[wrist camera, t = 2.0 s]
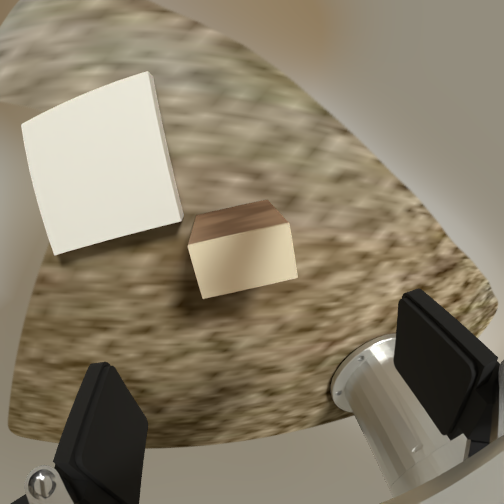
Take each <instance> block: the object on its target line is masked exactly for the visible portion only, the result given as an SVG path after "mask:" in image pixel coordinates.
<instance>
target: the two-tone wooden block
mask: <svg viewBox="0 0 504 504" xmlns="http://www.w3.org/2000/svg"><path fill="white" fill-rule="evenodd" d="M188 250H189V253H190V257H191V260H192V264H193V267H194V271H195V274H196V278H197V281H198V285H199V288H200V291H201V295H202V298H203V299H205V298H210V297H214V296H219V295H224V294H228V293H233V292H237V291H242V290H246V289H251V288H255V287H260V286H264V285H268V284H273V283H277V282H281V281H285V280H290V279H294V278H298V276H297V269H296V262H295V256H294V249H293V243H292V236H291V230H290V224H289V223H288V222H287V220H286V219H285V218H284V217H283V216H282V215H281V214H280V213H279V212H278V211H277V209H276V208H275V207H274V206H273V205H272V204H271V203H270V202H269V201H268V200H263V201H259V202H254V203H249V204H244V205H240V206H235V207H231V208H226V209H222V210H217V211H213V212H209V213H204V214H200V215H196V218H195V222H194V225H193V229H192V232H191V236H190V239H189V243H188Z"/></svg>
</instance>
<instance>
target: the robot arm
mask: <svg viewBox="0 0 504 504" xmlns="http://www.w3.org/2000/svg"><path fill="white" fill-rule="evenodd" d="M497 359H498V357H497V356H496V355H495V354H494V353H493V352H492V351H490V349H488V348H487V347H486V346H485V345H484V344H483V343H482V342H481V341H480V340H479V339H478V338H477V337H476V336H474V335H473V334H472V333H471V332H470V331H469V330H468V329H467V328H466V327H464V326H463V325H462V324H461V323H460V322H459V321H458V320H457V319H455V318H454V317H453V316H452V315H451V314H450V313H449V312H447V311H446V310H445V309H444V308H443V307H442V306H440V305H439V304H438V303H437V302H436V301H434V300H433V299H432V298H431V297H430V296H429V295H427V294H426V293H425V292H424V291H422V290H421V289H415V290H413V291H410V292H407V293H404V294H403V296H402V299H400V300H399V304H398V318H397V330H396V334H389V335H384V336H381V337H378V338H375V339H373V340H371V341H369V342H367V343H365V344H364V345H362V346H361V347H359V348H357V349H356V350H355V351H354V352H353V353H351V354H350V355H349V356H348V357H347V358H346V359H345V360H344V361H343V362H342V364H341V365H340V366H339V368H338V369H337V370H336V372H335V374H334V376H333V378H332V382H331V390H330V392H331V396H332V398H333V400H334V402H335V404H336V405H337V406H338V407H339V408H340V409H342V410H344V411H347V412H353V413H354V415H355V417H356V419H357V421H358V423H359V425H360V427H361V430H362V432H363V434H364V436H365V438H366V440H367V442H368V444H369V446H370V449H371V451H372V453H373V455H374V457H375V459H376V461H377V463H378V466H379V468H380V470H381V472H382V474H383V476H384V478H385V480H386V483H387V485H388V487H389V489H390V491H391V493H392V495H393V498H392V499H390V500H388V501H385V502H383V503H380V504H504V360H503V361H502V362H501V364H499V362H497ZM147 430H148V422H147V419H146V417H145V415H144V414H143V412H142V411H141V409H140V408H139V406H138V404H137V403H136V401H135V400H134V398H133V397H132V395H131V394H130V392H129V390H128V389H127V387H126V385H125V384H124V382H123V380H122V379H121V377H120V375H119V374H118V372H117V370H116V369H115V367H114V366H110V364H109V363H107V362H101V363H93V364H90V366H89V368H88V370H87V372H86V374H85V377H84V379H83V382H82V384H81V386H80V389H79V391H78V394H77V396H76V399H75V401H74V404H73V406H72V409H71V412H70V414H69V417H68V419H67V422H66V425H65V428H64V430H63V433H62V436H61V439H60V442H59V445H58V448H57V451H56V454H55V457H54V460H53V462H54V463H55V468H53V467H51V466H47V465H43V466H39V467H36V468H35V469H33V470H32V471H31V472H30V473H29V474H28V476H27V478H26V481H25V493H26V494H25V495H24V496H22V497H20V498H19V499H17V500H16V501H14V502H13V503H11V504H139V498H140V487H141V477H142V468H143V460H144V452H145V444H146V437H147Z"/></svg>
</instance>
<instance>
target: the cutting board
mask: <svg viewBox="0 0 504 504" xmlns="http://www.w3.org/2000/svg"><path fill="white" fill-rule="evenodd" d="M21 126H22V133H23V139H24V145H25V150H26V155H27V160H28V165H29V170H30V174H31V178H32V183H33V186H34V191H35V195H36V198H37V202H38V205H39V209H40V213H41V215H42V219H43V222H44V226H45V229H46V232H47V235H48V238H49V241H50V244H51V247H52V250H53V252H54V255H58V254H61V253H65V252H68V251H71V250H75V249H78V248H82V247H85V246H89V245H92V244H96V243H100V242H103V241H107V240H110V239H114V238H118V237H122V236H125V235H129V234H133V233H137V232H141V231H145V230H148V229H152V228H156V227H160V226H164V225H168V224H172V223H176V222H181V221H182V218H183V216H184V214H183V210H182V206H181V202H180V198H179V194H178V190H177V186H176V182H175V178H174V174H173V169H172V165H171V161H170V156H169V152H168V147H167V143H166V138H165V134H164V129H163V124H162V120H161V115H160V110H159V105H158V100H157V95H156V90H155V84H154V79H153V76H152V75H151V74H150V73H149V72H148V71H147V72H143V73H140V74H137V75H134V76H131V77H128V78H125V79H122V80H119V81H116V82H113V83H111V84H108V85H105V86H103V87H100V88H98V89H95V90H92V91H90V92H88V93H85V94H83V95H80V96H78V97H76V98H73V99H71V100H69V101H67V102H65V103H62V104H60V105H58V106H56V107H54V108H52V109H50V110H48V111H46V112H44V113H42V114H40V115H38V116H36V117H34V118H32V119H30V120H29V121H27V122H25V123H23V124H22V125H21Z"/></svg>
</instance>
